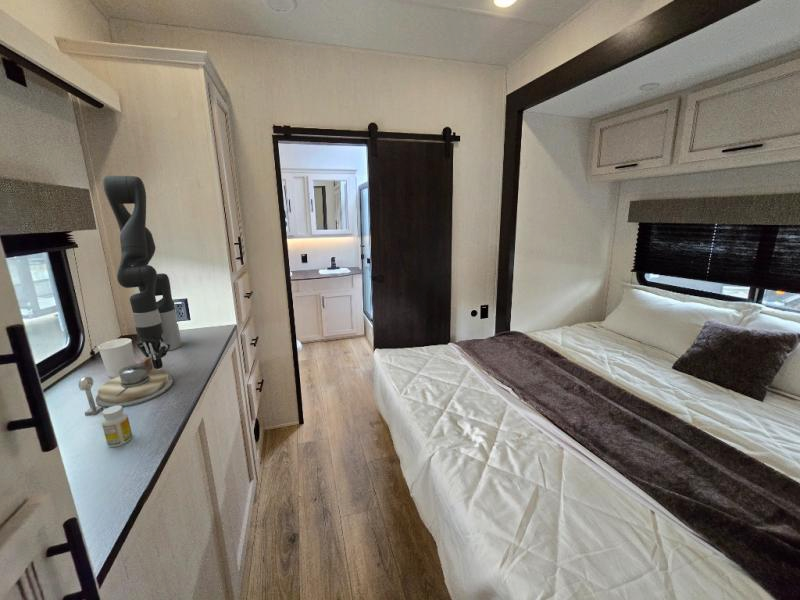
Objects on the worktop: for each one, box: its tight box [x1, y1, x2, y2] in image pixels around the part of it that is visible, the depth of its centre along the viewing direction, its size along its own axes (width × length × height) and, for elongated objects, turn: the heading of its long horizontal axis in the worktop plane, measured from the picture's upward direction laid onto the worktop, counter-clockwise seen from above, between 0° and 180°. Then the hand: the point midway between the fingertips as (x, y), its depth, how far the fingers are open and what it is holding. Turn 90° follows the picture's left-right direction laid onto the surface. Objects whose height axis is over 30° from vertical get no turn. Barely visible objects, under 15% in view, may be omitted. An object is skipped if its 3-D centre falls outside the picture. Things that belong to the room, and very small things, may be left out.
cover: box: [119, 363, 150, 388], centre depth 115 cm, size 8×8×5 cm
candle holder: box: [97, 337, 136, 379], centre depth 128 cm, size 10×10×12 cm
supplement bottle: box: [101, 405, 133, 448], centre depth 91 cm, size 5×5×10 cm
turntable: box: [97, 357, 169, 403], centre depth 116 cm, size 20×19×6 cm
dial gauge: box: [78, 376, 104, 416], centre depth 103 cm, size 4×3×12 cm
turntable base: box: [95, 374, 174, 409], centre depth 117 cm, size 21×21×1 cm
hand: (158, 367), depth 123 cm, fingers closed
